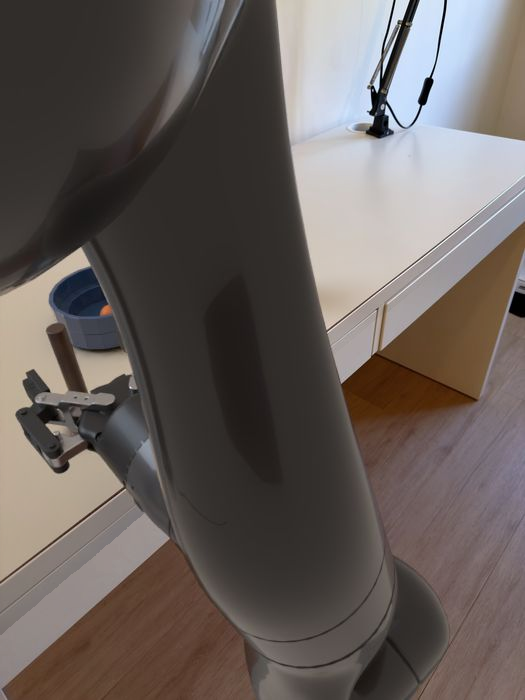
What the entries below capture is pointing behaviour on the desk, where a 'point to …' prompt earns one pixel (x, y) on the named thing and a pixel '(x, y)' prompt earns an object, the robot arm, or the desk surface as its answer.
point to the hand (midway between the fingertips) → (78, 356)
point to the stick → (66, 359)
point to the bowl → (83, 310)
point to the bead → (105, 310)
